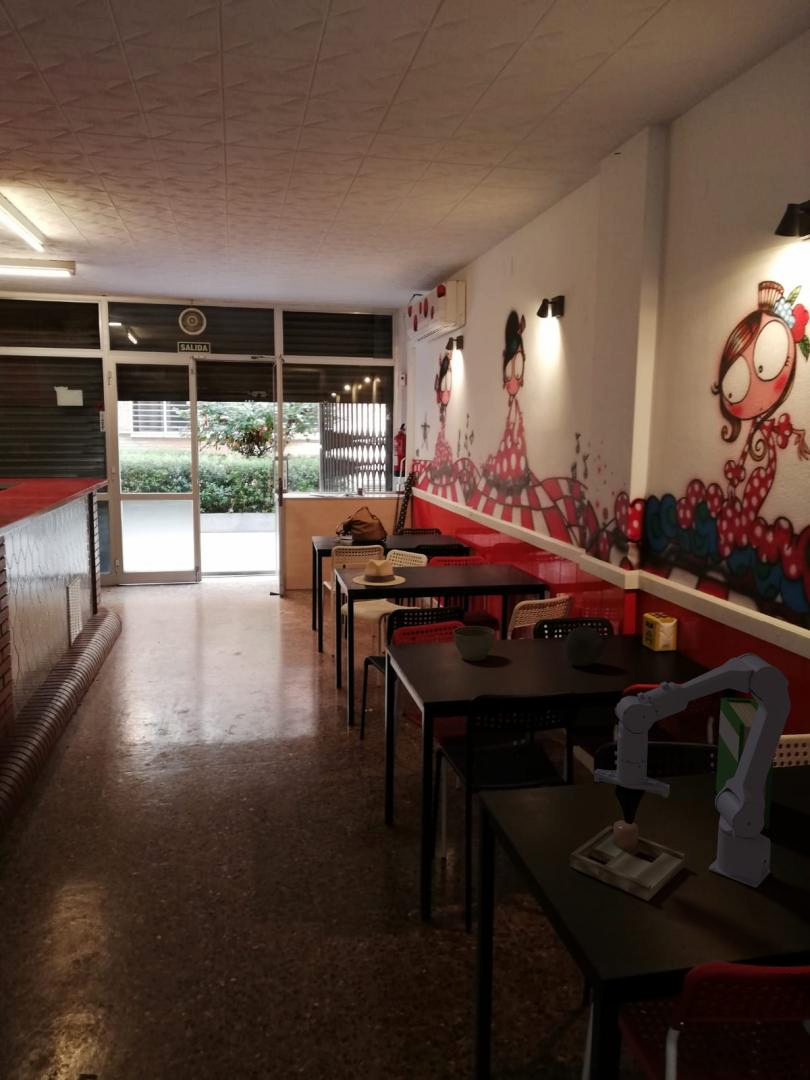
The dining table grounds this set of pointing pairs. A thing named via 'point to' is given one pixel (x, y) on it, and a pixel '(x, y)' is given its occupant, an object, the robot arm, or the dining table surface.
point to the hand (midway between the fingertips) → (629, 821)
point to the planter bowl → (473, 641)
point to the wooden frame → (628, 864)
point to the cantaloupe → (583, 646)
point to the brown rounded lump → (625, 835)
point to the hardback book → (738, 744)
